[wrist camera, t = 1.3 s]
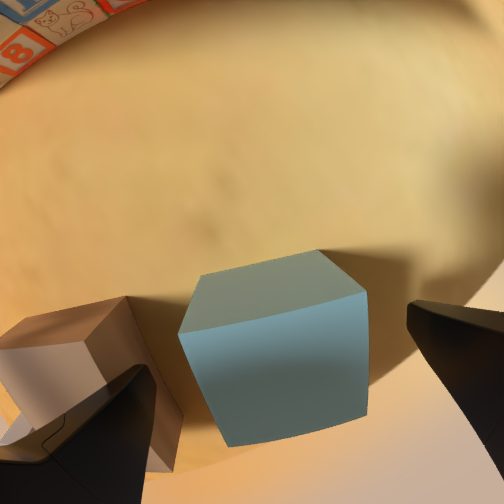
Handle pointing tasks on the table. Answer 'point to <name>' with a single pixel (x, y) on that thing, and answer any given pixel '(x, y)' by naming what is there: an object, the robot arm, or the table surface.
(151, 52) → the table surface
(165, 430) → the walnut block
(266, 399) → the teal cube
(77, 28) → the stack of blocks
